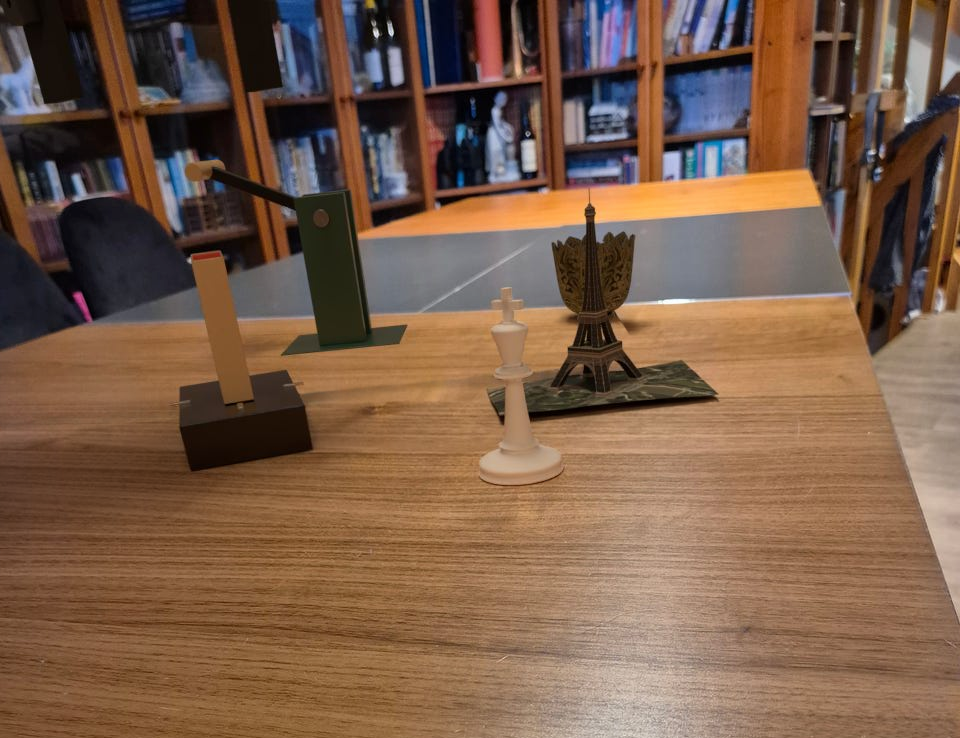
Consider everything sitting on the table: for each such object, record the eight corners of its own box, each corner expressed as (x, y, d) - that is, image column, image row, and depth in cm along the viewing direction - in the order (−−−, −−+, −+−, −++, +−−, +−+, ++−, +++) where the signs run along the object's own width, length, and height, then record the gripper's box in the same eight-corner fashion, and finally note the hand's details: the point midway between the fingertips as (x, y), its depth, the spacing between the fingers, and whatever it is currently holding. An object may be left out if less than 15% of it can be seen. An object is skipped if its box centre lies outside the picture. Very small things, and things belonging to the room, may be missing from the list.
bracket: (283, 367, 86) (250, 203, 79) (301, 347, 94) (272, 196, 87) (400, 355, 85) (378, 189, 78) (409, 336, 93) (388, 184, 86)
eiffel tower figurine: (496, 426, 62) (476, 207, 56) (486, 389, 71) (468, 197, 64) (719, 400, 62) (725, 179, 56) (681, 367, 71) (682, 173, 65)
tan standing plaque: (221, 389, 66) (189, 250, 62) (249, 384, 67) (219, 246, 62) (224, 404, 62) (189, 256, 58) (254, 399, 62) (222, 252, 58)
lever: (181, 183, 79) (187, 153, 78) (207, 179, 86) (212, 151, 85) (331, 239, 81) (338, 210, 80) (344, 230, 88) (350, 204, 87)
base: (181, 427, 70) (170, 385, 69) (302, 407, 72) (294, 365, 70) (181, 473, 60) (168, 425, 58) (322, 448, 62) (313, 400, 60)
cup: (550, 340, 85) (544, 245, 81) (563, 323, 91) (558, 235, 87) (632, 335, 83) (630, 239, 79) (640, 319, 89) (638, 228, 85)
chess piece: (505, 454, 57) (489, 280, 52) (578, 460, 54) (569, 278, 49) (462, 481, 53) (441, 297, 48) (538, 489, 51) (525, 296, 46)
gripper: (-218, -600, 32) (-6, 98, 43) (308, -389, 49) (370, 79, 59) (-283, -498, 37) (-77, 114, 47) (220, -336, 53) (292, 92, 63)
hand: (172, 96), depth 53 cm, fingers open, 13 cm apart
